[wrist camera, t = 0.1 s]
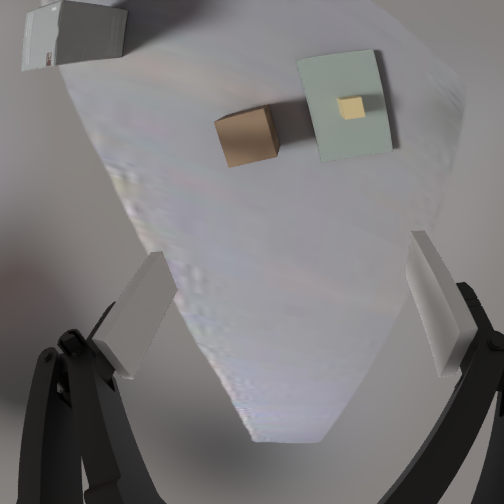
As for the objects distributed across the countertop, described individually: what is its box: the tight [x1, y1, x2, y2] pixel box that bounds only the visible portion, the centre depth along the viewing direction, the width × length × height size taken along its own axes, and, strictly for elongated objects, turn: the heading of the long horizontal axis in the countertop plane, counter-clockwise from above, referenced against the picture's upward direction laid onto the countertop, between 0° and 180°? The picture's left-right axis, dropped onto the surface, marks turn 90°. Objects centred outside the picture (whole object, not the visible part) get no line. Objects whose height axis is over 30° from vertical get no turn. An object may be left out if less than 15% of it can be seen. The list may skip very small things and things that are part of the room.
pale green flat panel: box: [296, 50, 393, 162], centre depth 31 cm, size 14×10×6 cm
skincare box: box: [21, 0, 128, 71], centre depth 25 cm, size 8×7×16 cm
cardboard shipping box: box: [214, 104, 280, 168], centre depth 35 cm, size 6×6×6 cm
